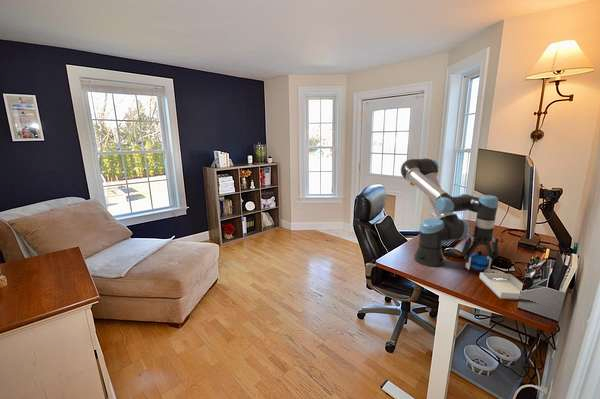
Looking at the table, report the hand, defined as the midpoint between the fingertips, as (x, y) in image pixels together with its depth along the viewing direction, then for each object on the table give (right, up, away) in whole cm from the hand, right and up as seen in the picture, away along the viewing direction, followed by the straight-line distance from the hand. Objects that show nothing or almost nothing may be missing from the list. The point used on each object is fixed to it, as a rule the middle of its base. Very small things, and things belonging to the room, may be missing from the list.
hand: (477, 268), depth 134 cm
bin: (+3, -5, -14) cm, 16 cm away
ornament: (0, -1, 0) cm, 1 cm away
